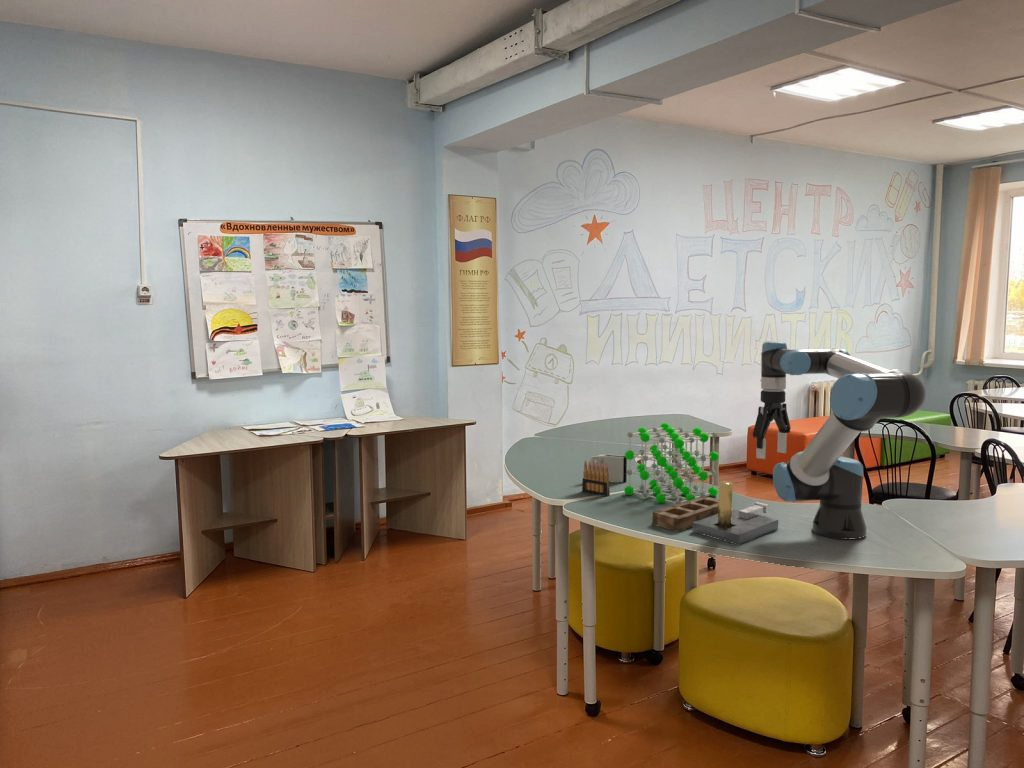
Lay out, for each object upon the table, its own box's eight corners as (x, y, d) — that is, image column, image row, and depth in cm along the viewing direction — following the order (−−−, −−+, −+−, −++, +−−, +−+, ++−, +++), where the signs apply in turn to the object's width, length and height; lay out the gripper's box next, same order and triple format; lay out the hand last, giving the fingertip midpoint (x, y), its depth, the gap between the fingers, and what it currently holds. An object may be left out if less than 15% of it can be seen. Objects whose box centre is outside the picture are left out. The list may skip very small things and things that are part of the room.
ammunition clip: (581, 491, 278) (582, 460, 277) (584, 490, 280) (584, 459, 278) (607, 496, 272) (607, 464, 271) (609, 495, 273) (610, 463, 272)
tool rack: (729, 513, 250) (730, 502, 250) (678, 531, 232) (678, 519, 231) (704, 507, 257) (704, 496, 257) (652, 524, 239) (652, 512, 239)
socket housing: (777, 529, 234) (778, 519, 234) (738, 544, 219) (738, 534, 219) (732, 517, 246) (732, 508, 245) (692, 531, 231) (692, 522, 231)
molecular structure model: (679, 509, 256) (680, 439, 253) (622, 495, 274) (622, 429, 271) (719, 496, 271) (721, 430, 269) (663, 483, 290) (664, 421, 287)
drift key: (768, 512, 241) (768, 504, 241) (748, 519, 233) (748, 511, 233) (757, 509, 244) (757, 502, 244) (737, 516, 236) (737, 508, 236)
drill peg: (733, 534, 229) (735, 483, 227) (726, 537, 226) (728, 485, 224) (722, 531, 232) (723, 480, 230) (714, 534, 229) (716, 483, 227)
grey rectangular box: (590, 482, 293) (590, 456, 291) (590, 479, 298) (590, 454, 297) (626, 483, 291) (627, 457, 290) (626, 479, 296) (626, 454, 295)
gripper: (781, 386, 253) (779, 448, 255) (742, 392, 236) (740, 459, 238) (802, 387, 247) (800, 451, 249) (764, 394, 230) (762, 462, 232)
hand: (771, 455), depth 244 cm, fingers open, 13 cm apart
